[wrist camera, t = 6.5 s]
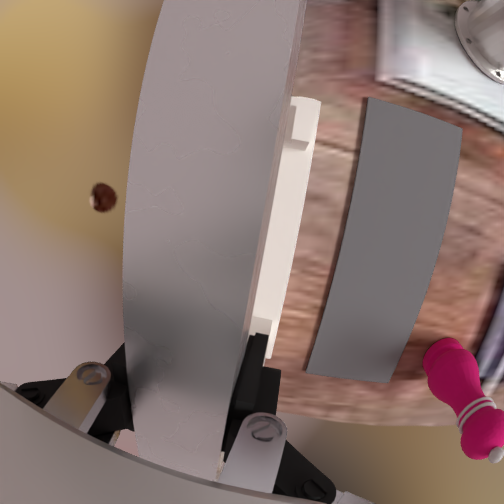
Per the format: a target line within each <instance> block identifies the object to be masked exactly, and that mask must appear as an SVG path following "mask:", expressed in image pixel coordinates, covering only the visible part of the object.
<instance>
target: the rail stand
mask: <svg viewBox="0 0 504 504" xmlns="http://www.w3.org/2000/svg"><path fill="white" fill-rule="evenodd" d="M320 106H321V101H316V99H311V98H306V97H300V96H298V97H293V96H292V97H291V103H290V109H289V115H288V121H287V126H286V132H285V138H284V144H283V150H282V155H281V161H280V167H279V172H278V178H277V184H276V189H275V195H274V200H273V206H272V212H271V217H270V223H269V228H268V234H267V239H266V245H265V250H264V255H263V261H262V266H261V272H260V277H259V282H258V288H257V293H256V298H255V303H254V309H253V314H252V319H251V324H250V330H249V335H254V336H255V333H256V332H257V333H262V334H267V335H269V338H268V343H267V348H266V353H265V358H269V359H271V355H272V350H273V346H274V342H275V338H276V334H277V329H278V325H279V321H280V316H281V312H282V307H283V303H284V298H285V294H286V289H287V285H288V280H289V275H290V271H291V266H292V261H293V256H294V251H295V246H296V242H297V237H298V232H299V226H300V221H301V216H302V211H303V206H304V200H305V195H306V190H307V184H308V178H309V173H310V167H311V161H312V156H313V150H314V144H315V138H316V132H317V125H318V119H319V113H320ZM249 335H248V338H249ZM247 342H248V340H247ZM265 358H264V363H265ZM264 363H263V366H264Z"/></svg>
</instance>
